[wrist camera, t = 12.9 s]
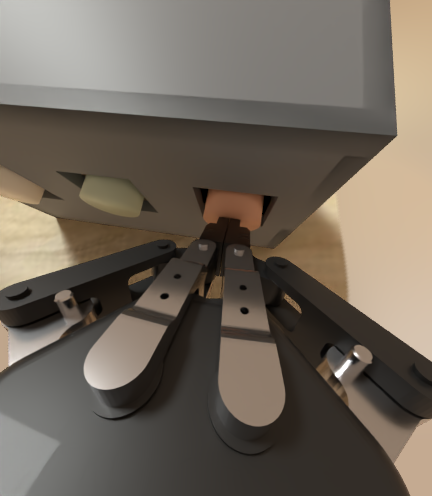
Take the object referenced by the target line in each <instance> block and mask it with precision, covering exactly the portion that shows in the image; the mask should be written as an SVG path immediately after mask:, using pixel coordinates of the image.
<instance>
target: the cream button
mask: <svg viewBox="0 0 432 496" xmlns="http://www.w3.org/2000/svg"><path fill="white" fill-rule="evenodd" d="M44 190H45V189H43V188H42V187H40V186H38V185H36V184H34V183H33V182H31V181H29V180H27V179H25V178H24V177H22V176H20V175H18V174H16V173H15V172H13V171H11V170H9V169H7V168H6V167H4V166H2V165H0V196H3V197H6V198H9V199H12V200H16V201H20V202H24V203H29V204H39V203H40V200H41V198H42V195H43V193H44Z"/></svg>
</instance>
